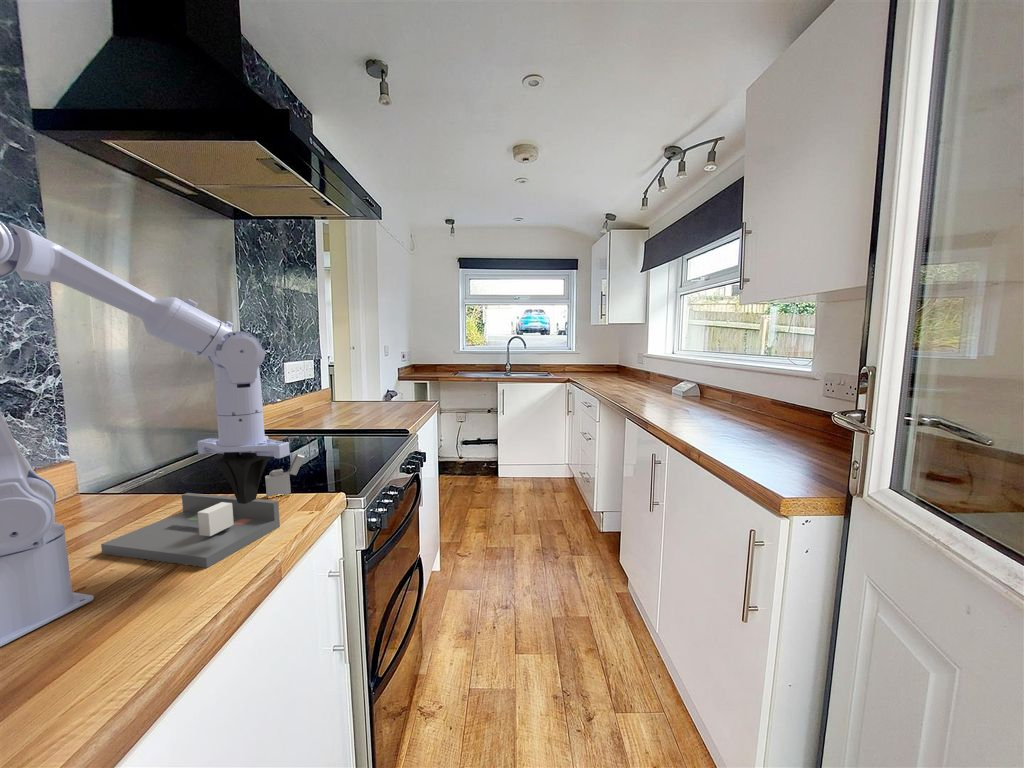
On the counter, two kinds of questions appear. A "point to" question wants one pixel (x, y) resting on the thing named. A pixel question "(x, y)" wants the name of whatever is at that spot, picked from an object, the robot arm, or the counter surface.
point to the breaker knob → (215, 519)
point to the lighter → (282, 478)
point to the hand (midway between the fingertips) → (247, 501)
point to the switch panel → (197, 533)
